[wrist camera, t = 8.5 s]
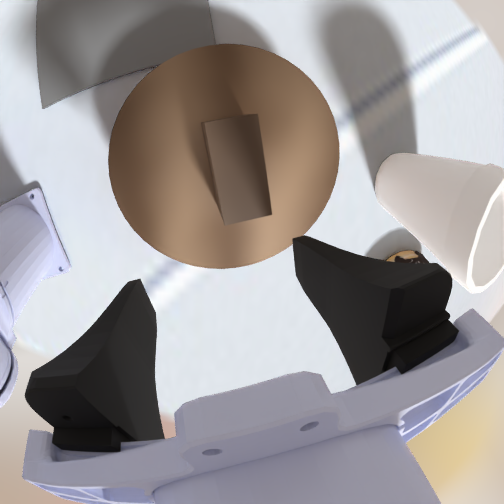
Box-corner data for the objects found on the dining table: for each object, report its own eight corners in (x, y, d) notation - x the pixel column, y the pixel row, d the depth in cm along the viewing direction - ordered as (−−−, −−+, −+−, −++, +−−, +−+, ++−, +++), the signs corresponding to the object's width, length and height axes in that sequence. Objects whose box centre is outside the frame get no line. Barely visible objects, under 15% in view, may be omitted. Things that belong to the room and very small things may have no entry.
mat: (44, 108, 14) (42, 108, 14) (40, -18, 7) (39, -19, 7) (216, 53, 16) (216, 52, 16) (196, -67, 9) (196, -69, 9)
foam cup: (386, 119, 21) (507, 147, 10) (436, 164, 24) (530, 206, 13) (346, 207, 24) (449, 282, 13) (402, 236, 28) (485, 301, 16)
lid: (149, 283, 18) (144, 320, 15) (92, 80, 11) (65, 71, 8) (337, 236, 20) (366, 262, 16) (320, 42, 13) (353, 29, 10)
